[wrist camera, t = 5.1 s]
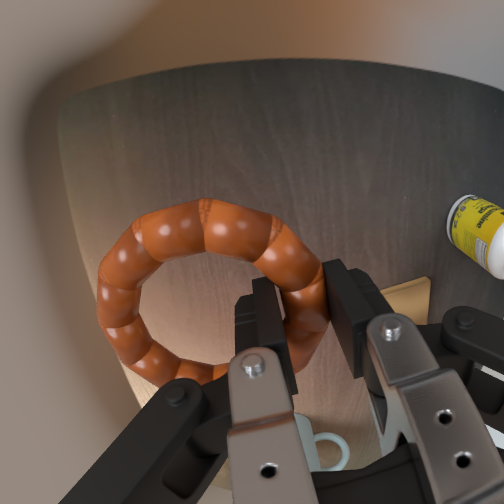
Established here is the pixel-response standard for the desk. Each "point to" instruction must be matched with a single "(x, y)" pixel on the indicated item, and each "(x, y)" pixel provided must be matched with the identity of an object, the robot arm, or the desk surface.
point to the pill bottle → (478, 232)
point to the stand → (410, 299)
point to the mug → (310, 445)
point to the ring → (218, 242)
